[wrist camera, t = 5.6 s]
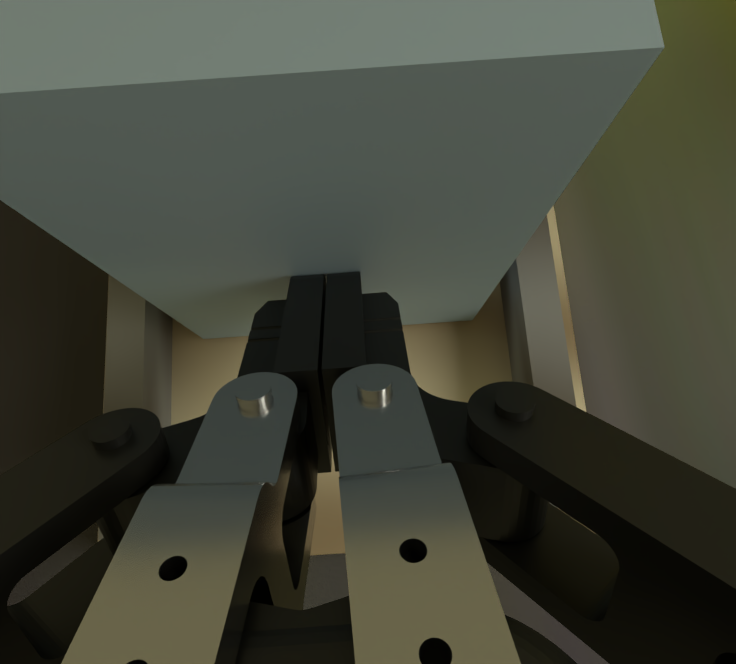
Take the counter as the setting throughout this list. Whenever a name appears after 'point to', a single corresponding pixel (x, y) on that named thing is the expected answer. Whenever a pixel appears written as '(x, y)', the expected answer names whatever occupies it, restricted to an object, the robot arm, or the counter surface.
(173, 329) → the beige wooden tray
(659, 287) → the counter surface
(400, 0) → the grey rectangular block
